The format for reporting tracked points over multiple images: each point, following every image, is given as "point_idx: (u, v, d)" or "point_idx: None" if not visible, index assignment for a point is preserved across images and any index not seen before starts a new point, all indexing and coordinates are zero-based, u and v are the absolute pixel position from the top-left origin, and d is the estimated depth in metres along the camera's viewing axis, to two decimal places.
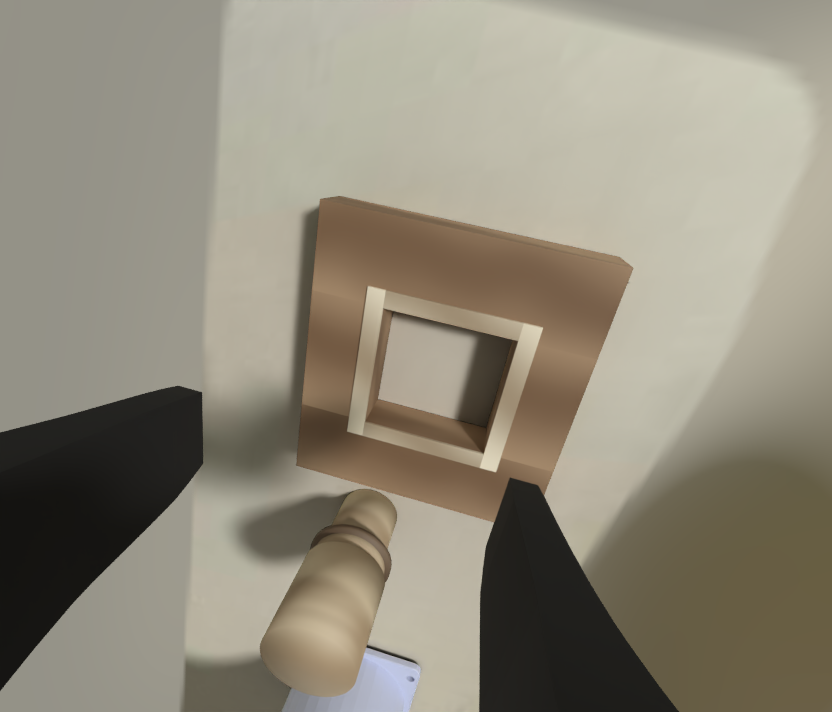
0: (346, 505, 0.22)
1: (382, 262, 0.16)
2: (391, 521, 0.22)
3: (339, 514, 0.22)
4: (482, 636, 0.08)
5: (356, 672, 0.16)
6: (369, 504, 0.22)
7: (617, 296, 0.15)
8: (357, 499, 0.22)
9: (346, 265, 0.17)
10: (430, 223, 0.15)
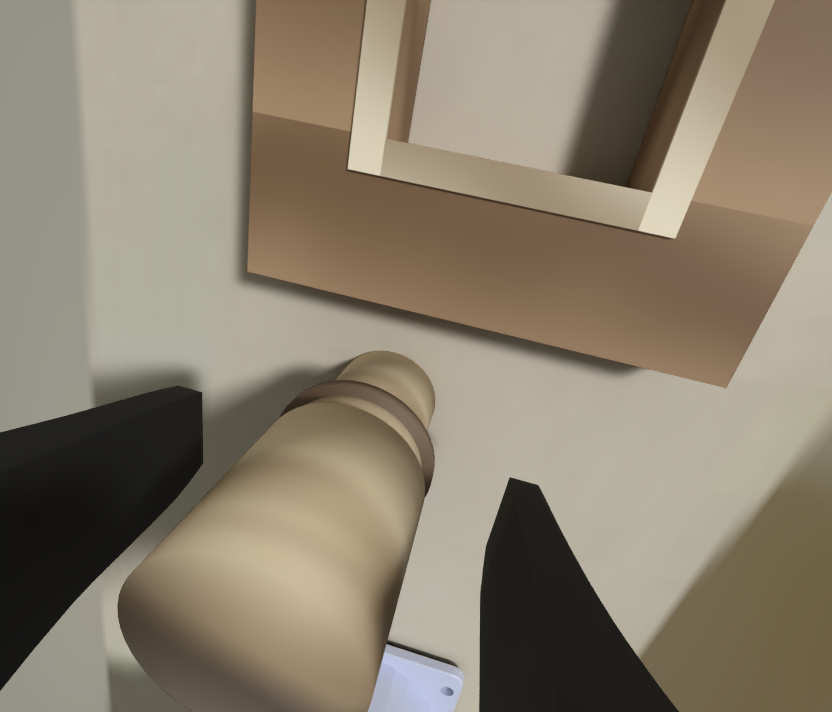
0: (345, 371, 0.12)
1: None
2: (428, 401, 0.12)
3: None
4: (482, 636, 0.08)
5: (371, 683, 0.06)
6: (388, 367, 0.12)
7: None
8: (365, 361, 0.12)
9: None
10: None
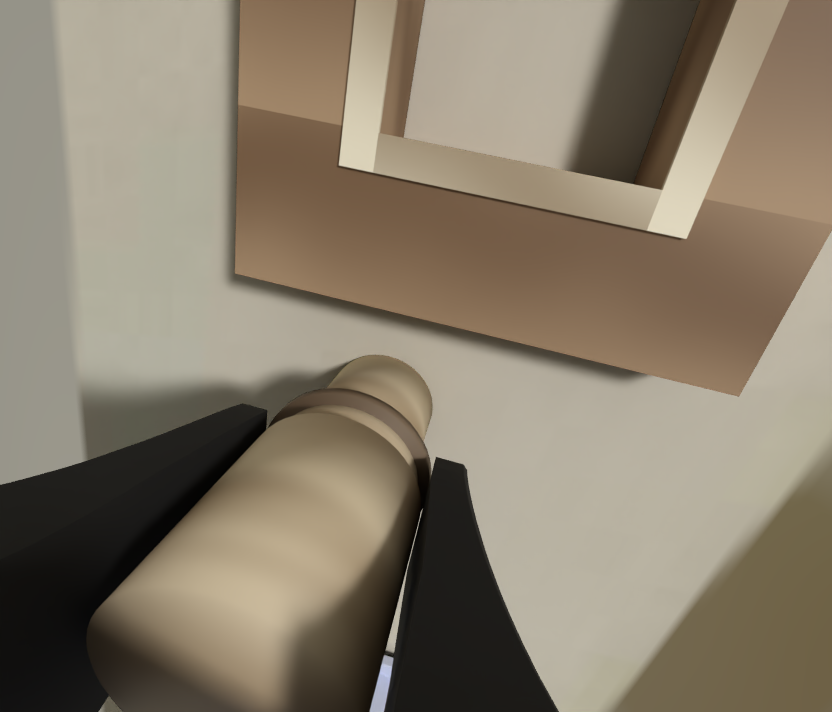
0: (338, 377, 0.12)
1: None
2: (424, 407, 0.12)
3: None
4: (401, 611, 0.09)
5: None
6: (383, 373, 0.11)
7: None
8: (359, 366, 0.12)
9: None
10: None
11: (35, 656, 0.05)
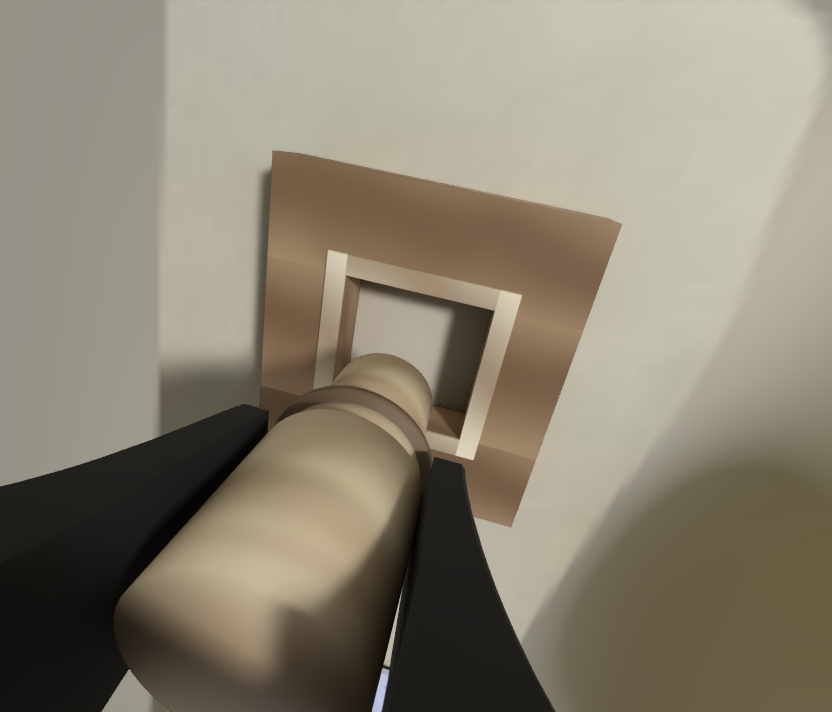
0: (344, 373, 0.12)
1: (343, 222, 0.15)
2: (426, 406, 0.12)
3: None
4: (399, 610, 0.09)
5: (371, 702, 0.06)
6: (387, 371, 0.12)
7: (604, 258, 0.13)
8: (364, 364, 0.12)
9: (303, 226, 0.15)
10: (395, 176, 0.14)
11: (38, 657, 0.05)
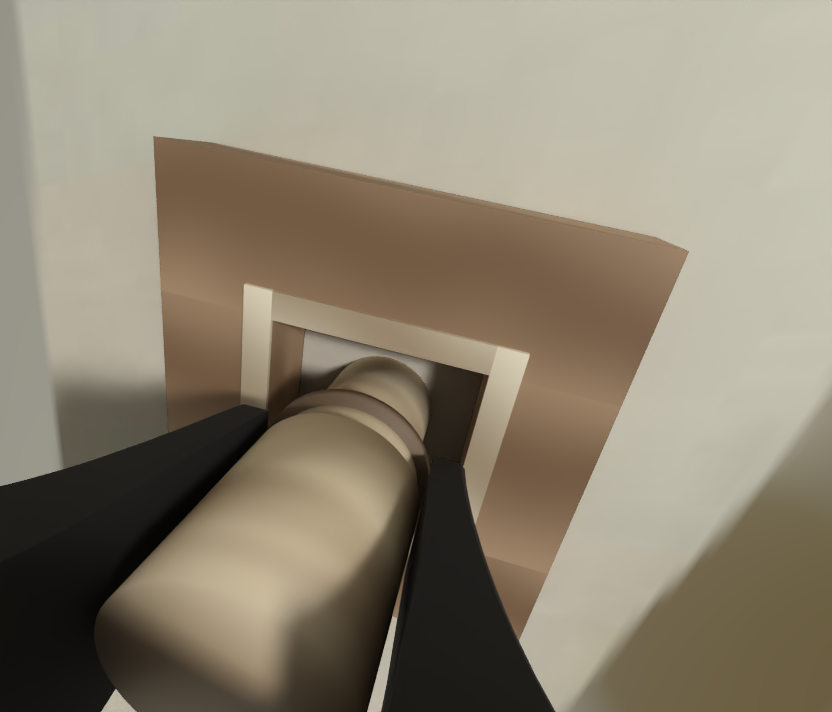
0: (341, 377, 0.12)
1: (264, 244, 0.10)
2: (424, 410, 0.12)
3: None
4: (399, 610, 0.09)
5: None
6: (385, 374, 0.12)
7: (659, 302, 0.09)
8: (361, 367, 0.12)
9: (207, 249, 0.10)
10: (336, 176, 0.09)
11: (37, 657, 0.05)
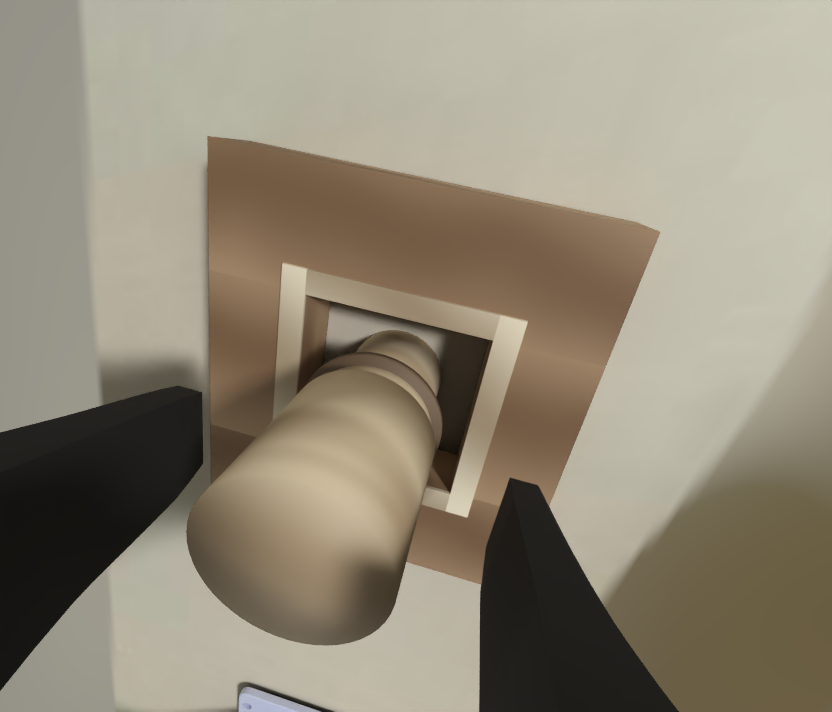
0: (363, 347, 0.13)
1: (300, 228, 0.11)
2: (435, 376, 0.14)
3: None
4: (482, 636, 0.08)
5: (396, 588, 0.07)
6: (402, 344, 0.13)
7: (636, 276, 0.10)
8: (381, 338, 0.14)
9: (251, 233, 0.12)
10: (363, 169, 0.11)
11: None
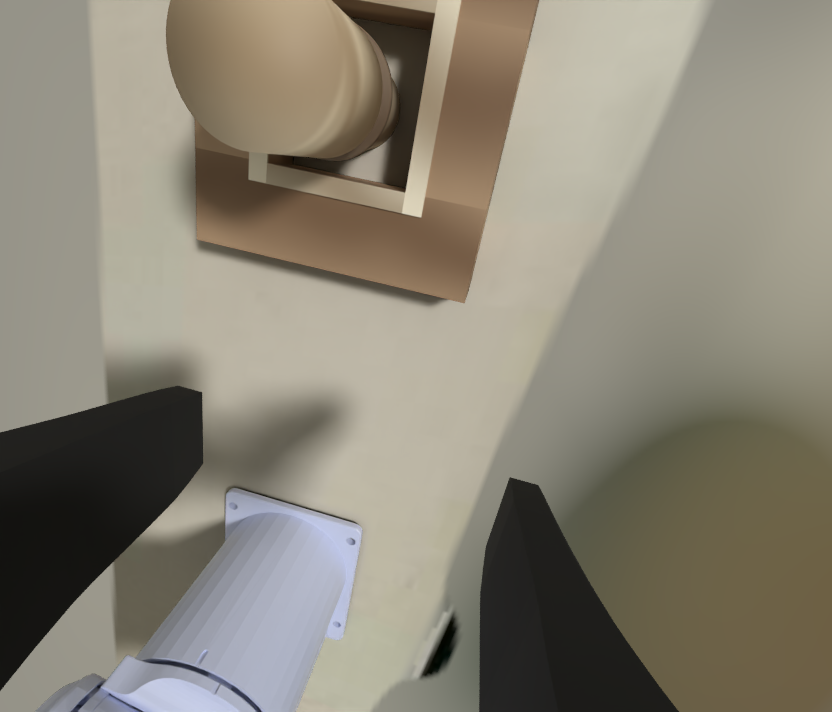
0: None
1: None
2: (392, 89, 0.15)
3: None
4: (482, 636, 0.08)
5: (331, 56, 0.09)
6: None
7: None
8: None
9: None
10: None
11: None
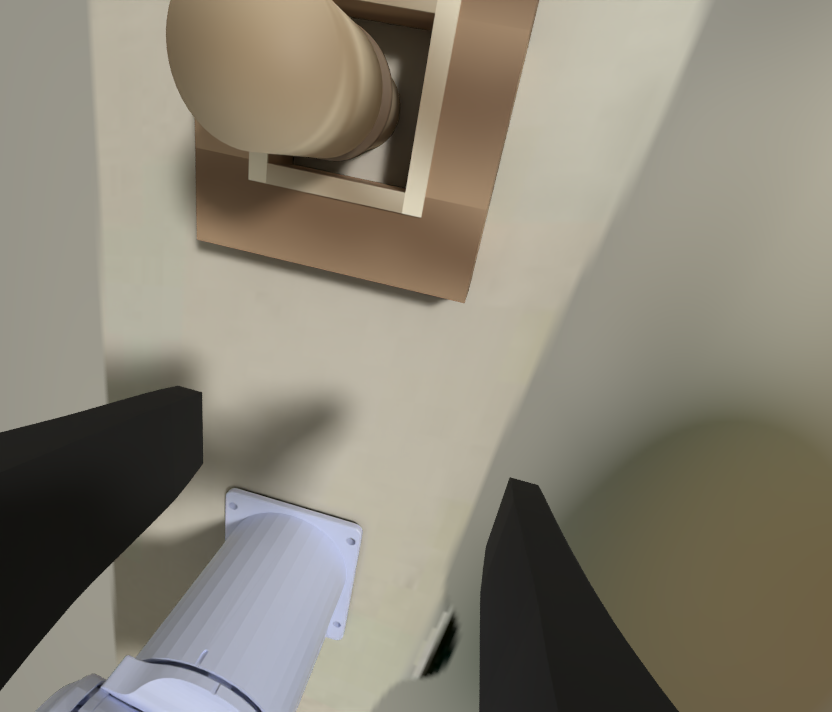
0: None
1: None
2: (392, 89, 0.15)
3: None
4: (482, 636, 0.08)
5: (331, 55, 0.09)
6: None
7: None
8: None
9: None
10: None
11: None
